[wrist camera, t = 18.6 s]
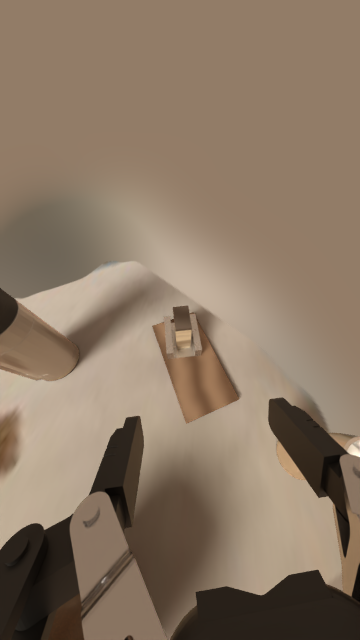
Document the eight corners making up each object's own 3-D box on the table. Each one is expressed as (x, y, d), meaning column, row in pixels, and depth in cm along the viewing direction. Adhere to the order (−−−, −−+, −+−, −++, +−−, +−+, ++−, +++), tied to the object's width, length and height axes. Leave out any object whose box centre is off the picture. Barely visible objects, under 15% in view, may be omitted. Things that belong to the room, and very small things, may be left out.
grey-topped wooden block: (190, 347, 38) (191, 327, 31) (177, 348, 38) (175, 329, 30) (187, 328, 41) (188, 305, 33) (174, 329, 41) (172, 307, 33)
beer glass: (289, 422, 31) (360, 418, 19) (325, 460, 28) (439, 488, 16) (264, 450, 29) (326, 467, 17) (301, 495, 26) (411, 559, 14)
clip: (200, 355, 37) (202, 349, 35) (167, 359, 37) (166, 353, 34) (194, 321, 42) (195, 313, 39) (165, 324, 42) (164, 316, 39)
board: (186, 423, 32) (186, 423, 31) (153, 328, 43) (152, 326, 42) (237, 400, 34) (239, 399, 33) (193, 314, 45) (193, 312, 44)
